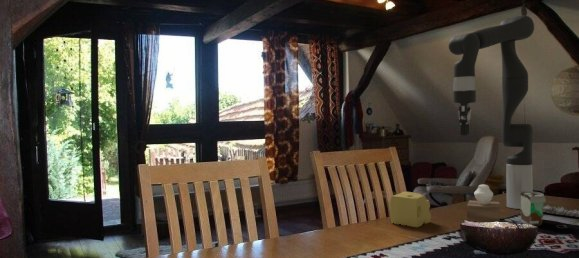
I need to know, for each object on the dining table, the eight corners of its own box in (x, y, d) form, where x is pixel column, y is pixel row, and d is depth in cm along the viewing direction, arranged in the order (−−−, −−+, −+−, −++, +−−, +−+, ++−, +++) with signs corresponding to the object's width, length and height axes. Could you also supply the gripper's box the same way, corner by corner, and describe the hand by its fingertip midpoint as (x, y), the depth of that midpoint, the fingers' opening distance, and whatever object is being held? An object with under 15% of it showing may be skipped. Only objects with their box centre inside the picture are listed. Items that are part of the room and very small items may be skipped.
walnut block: (469, 216, 161) (469, 200, 161) (499, 218, 156) (499, 202, 156) (467, 222, 152) (467, 205, 152) (499, 225, 147) (499, 207, 147)
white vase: (494, 205, 150) (494, 185, 150) (475, 205, 152) (474, 185, 152) (492, 202, 156) (491, 182, 156) (473, 201, 158) (473, 182, 157)
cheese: (431, 222, 154) (431, 193, 154) (416, 228, 146) (416, 198, 146) (404, 218, 161) (403, 191, 161) (389, 223, 153) (388, 195, 153)
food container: (552, 227, 143) (551, 197, 143) (531, 227, 144) (531, 196, 144) (538, 218, 155) (538, 190, 155) (519, 218, 156) (519, 190, 156)
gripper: (455, 91, 166) (455, 134, 167) (451, 89, 153) (451, 135, 154) (476, 90, 163) (477, 134, 163) (474, 88, 150) (475, 135, 151)
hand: (465, 134), depth 159 cm, fingers open, 8 cm apart
